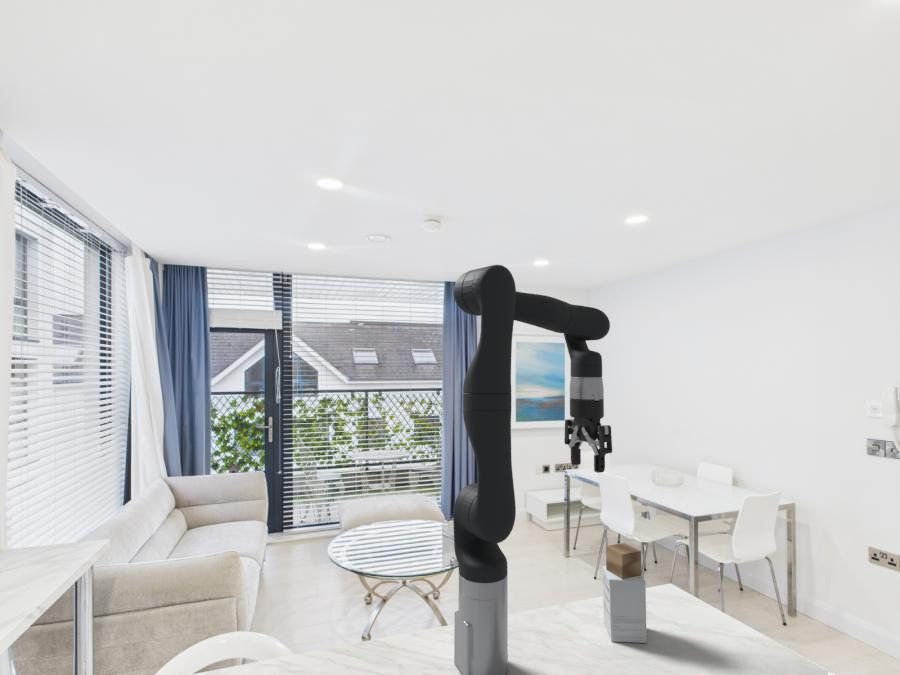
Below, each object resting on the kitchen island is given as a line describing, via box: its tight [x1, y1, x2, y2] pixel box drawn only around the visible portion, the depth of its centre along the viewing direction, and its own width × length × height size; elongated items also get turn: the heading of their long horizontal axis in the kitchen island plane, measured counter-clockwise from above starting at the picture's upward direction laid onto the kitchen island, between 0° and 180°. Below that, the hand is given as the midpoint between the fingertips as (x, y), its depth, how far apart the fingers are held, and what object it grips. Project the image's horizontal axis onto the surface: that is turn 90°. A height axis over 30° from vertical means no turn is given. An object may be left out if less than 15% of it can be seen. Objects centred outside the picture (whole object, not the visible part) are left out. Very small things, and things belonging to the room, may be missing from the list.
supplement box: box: [602, 565, 648, 644], centre depth 105 cm, size 7×7×13 cm
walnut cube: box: [605, 542, 642, 579], centre depth 105 cm, size 5×5×5 cm
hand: (587, 468), depth 113 cm, fingers open, 8 cm apart
